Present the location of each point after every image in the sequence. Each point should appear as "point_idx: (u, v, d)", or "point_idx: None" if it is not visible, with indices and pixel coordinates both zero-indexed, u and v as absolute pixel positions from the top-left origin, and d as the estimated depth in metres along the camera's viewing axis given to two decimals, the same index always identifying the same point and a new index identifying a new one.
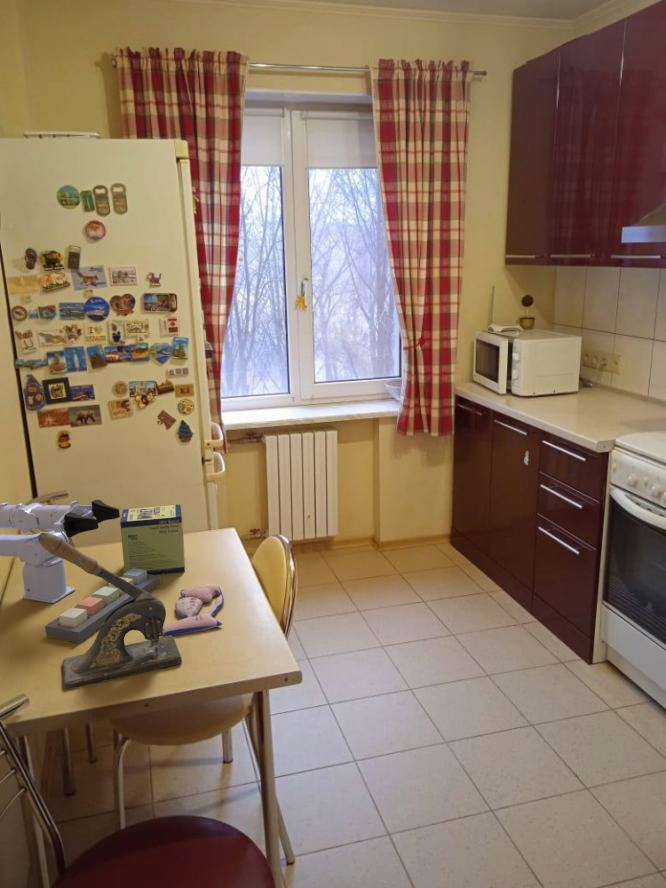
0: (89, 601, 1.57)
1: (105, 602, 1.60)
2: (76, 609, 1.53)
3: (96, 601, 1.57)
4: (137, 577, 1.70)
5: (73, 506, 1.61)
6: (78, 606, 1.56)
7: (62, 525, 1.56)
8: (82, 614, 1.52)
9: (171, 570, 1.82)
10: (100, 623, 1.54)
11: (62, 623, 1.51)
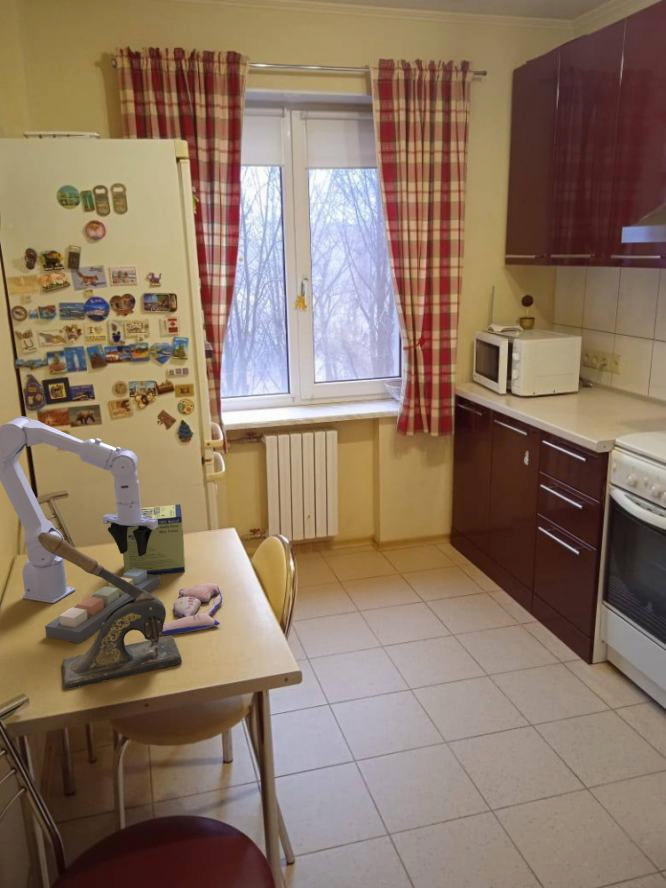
0: (89, 601, 1.57)
1: (105, 602, 1.60)
2: (76, 609, 1.53)
3: (96, 601, 1.57)
4: (137, 577, 1.70)
5: None
6: (78, 606, 1.56)
7: None
8: (82, 614, 1.52)
9: (171, 570, 1.82)
10: (100, 623, 1.54)
11: (62, 623, 1.51)
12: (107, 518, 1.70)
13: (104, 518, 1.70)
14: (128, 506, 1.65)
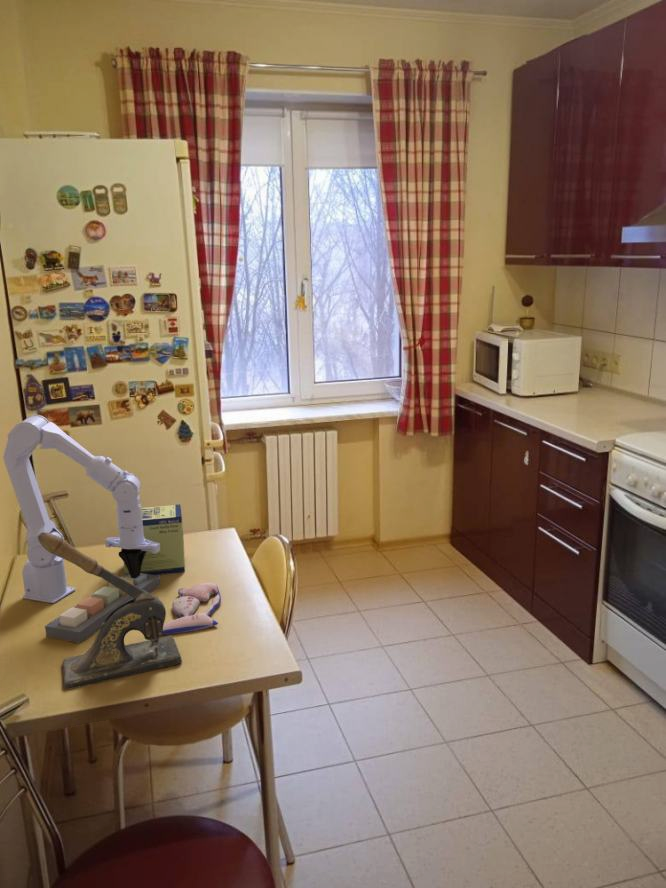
0: (89, 601, 1.57)
1: (105, 602, 1.60)
2: (76, 609, 1.53)
3: (96, 601, 1.57)
4: (137, 581, 1.70)
5: None
6: (78, 606, 1.56)
7: None
8: (82, 614, 1.52)
9: (171, 570, 1.82)
10: (100, 623, 1.54)
11: (62, 623, 1.51)
12: (109, 541, 1.71)
13: (106, 541, 1.72)
14: (130, 530, 1.67)
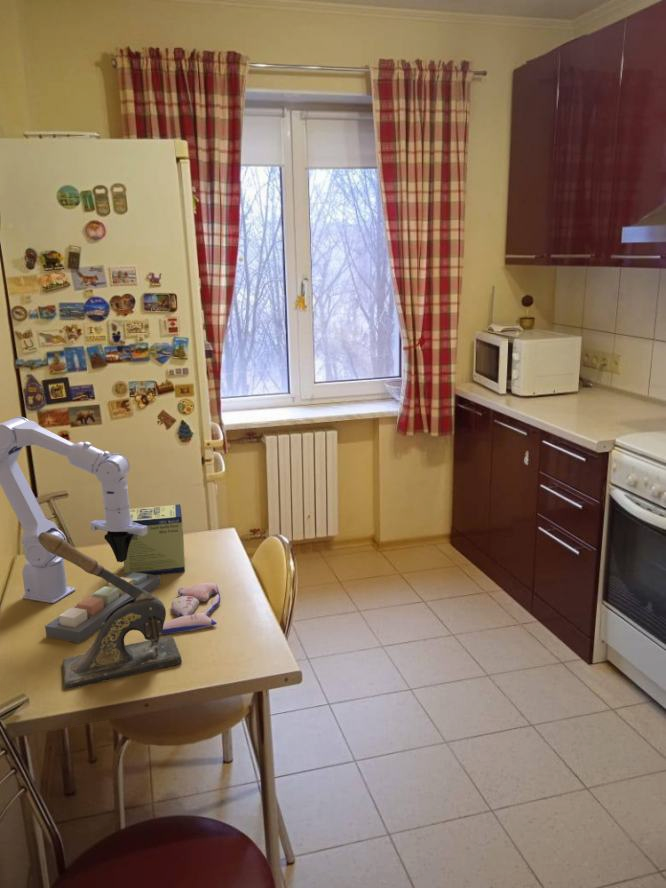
0: (89, 601, 1.57)
1: (105, 602, 1.60)
2: (76, 609, 1.53)
3: (96, 601, 1.57)
4: (137, 581, 1.70)
5: None
6: (78, 606, 1.56)
7: None
8: (82, 614, 1.52)
9: (171, 570, 1.82)
10: (100, 623, 1.54)
11: (62, 623, 1.51)
12: (95, 524, 1.66)
13: (92, 524, 1.66)
14: (117, 512, 1.62)
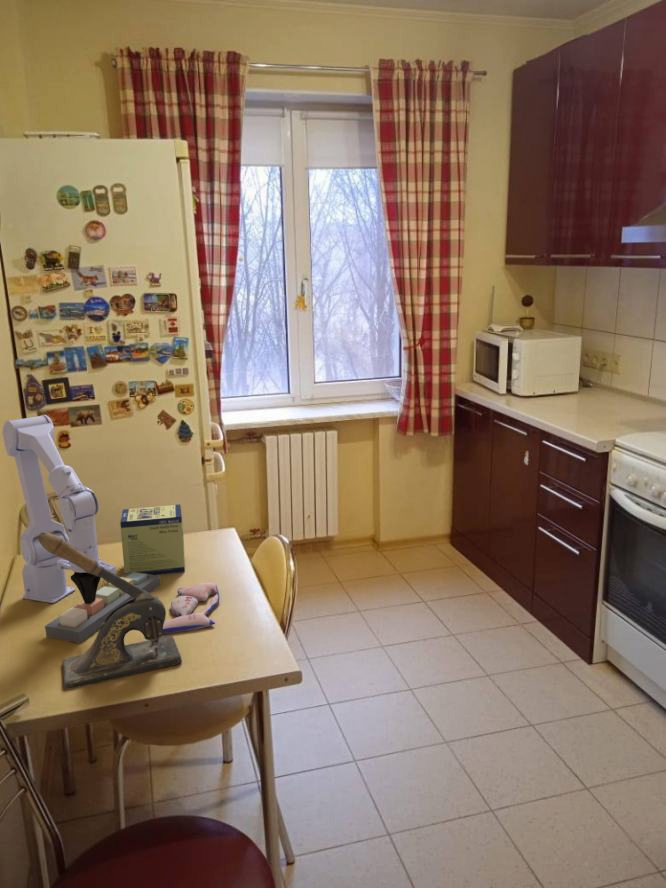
0: None
1: (105, 602, 1.60)
2: (76, 609, 1.53)
3: (96, 601, 1.57)
4: (137, 581, 1.70)
5: None
6: (78, 606, 1.56)
7: None
8: (82, 614, 1.52)
9: (171, 570, 1.82)
10: (100, 623, 1.54)
11: (62, 623, 1.51)
12: (61, 564, 1.56)
13: (58, 563, 1.56)
14: (83, 552, 1.51)
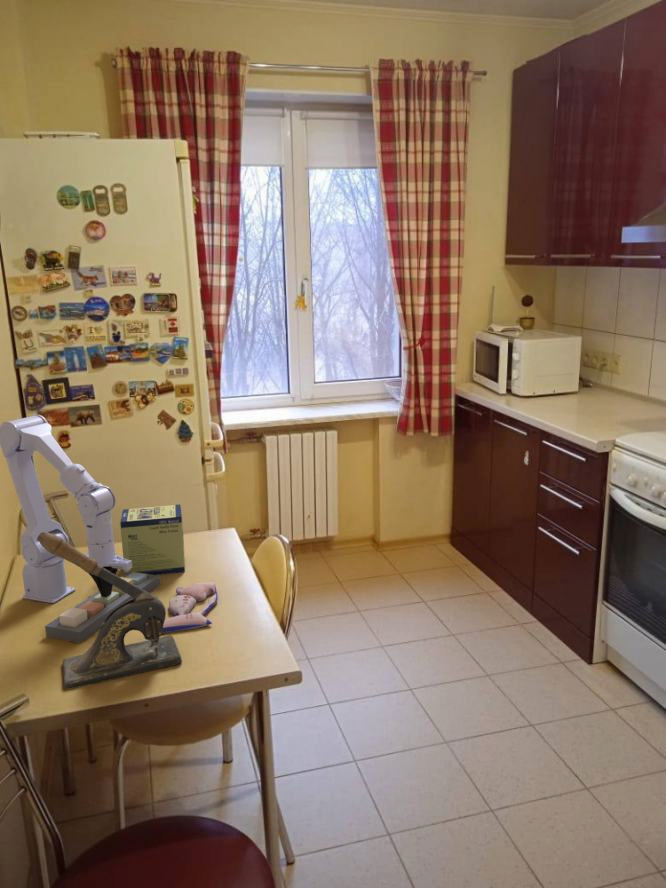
0: (90, 605, 1.57)
1: None
2: (76, 609, 1.53)
3: (97, 606, 1.57)
4: (137, 581, 1.70)
5: None
6: None
7: None
8: (82, 614, 1.52)
9: (171, 570, 1.82)
10: (100, 623, 1.54)
11: (62, 623, 1.51)
12: None
13: None
14: (100, 546, 1.57)
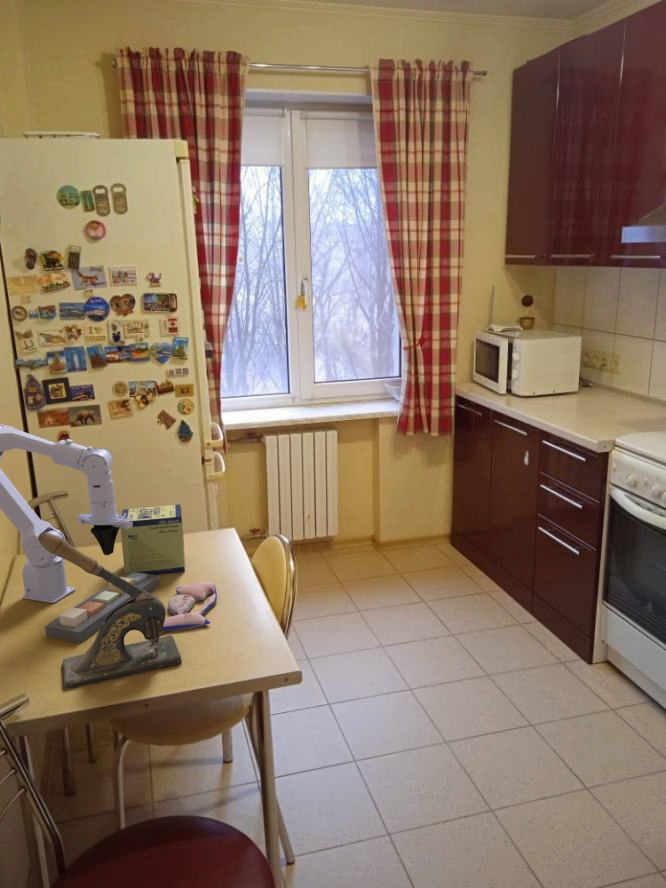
0: (90, 605, 1.57)
1: None
2: (76, 609, 1.53)
3: (97, 606, 1.57)
4: (137, 581, 1.70)
5: None
6: None
7: None
8: (82, 614, 1.52)
9: (171, 570, 1.82)
10: (100, 623, 1.54)
11: (62, 623, 1.51)
12: (82, 518, 1.68)
13: (79, 518, 1.68)
14: (102, 506, 1.63)
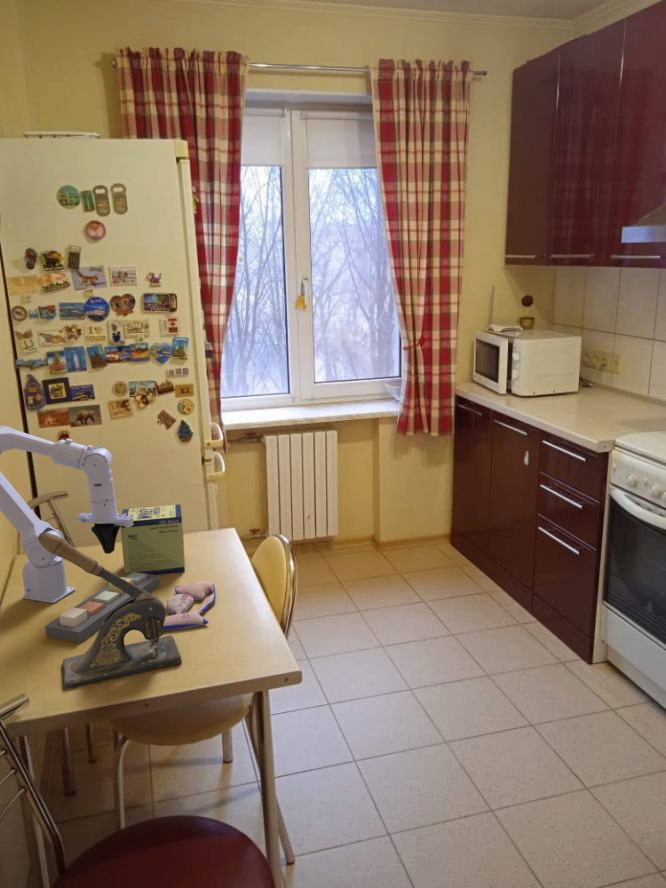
0: (90, 605, 1.57)
1: None
2: (76, 609, 1.53)
3: (97, 606, 1.57)
4: (137, 581, 1.70)
5: None
6: None
7: None
8: (82, 614, 1.52)
9: (171, 570, 1.82)
10: (100, 623, 1.54)
11: (62, 623, 1.51)
12: (82, 517, 1.68)
13: (79, 517, 1.69)
14: (102, 504, 1.64)
